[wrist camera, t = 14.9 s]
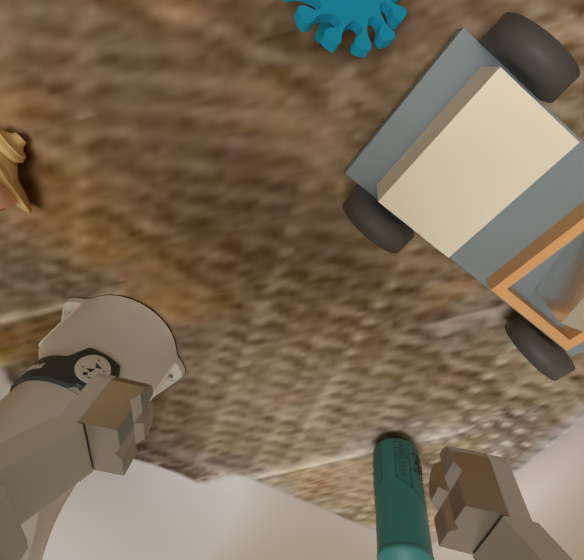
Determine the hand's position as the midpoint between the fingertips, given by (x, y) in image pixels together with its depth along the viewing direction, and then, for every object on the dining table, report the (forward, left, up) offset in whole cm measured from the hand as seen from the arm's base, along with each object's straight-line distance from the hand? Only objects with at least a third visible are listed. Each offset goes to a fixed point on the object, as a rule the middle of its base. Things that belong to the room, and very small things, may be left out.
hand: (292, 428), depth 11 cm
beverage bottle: (-26, -31, -31) cm, 51 cm away
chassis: (+7, -16, -31) cm, 36 cm away
